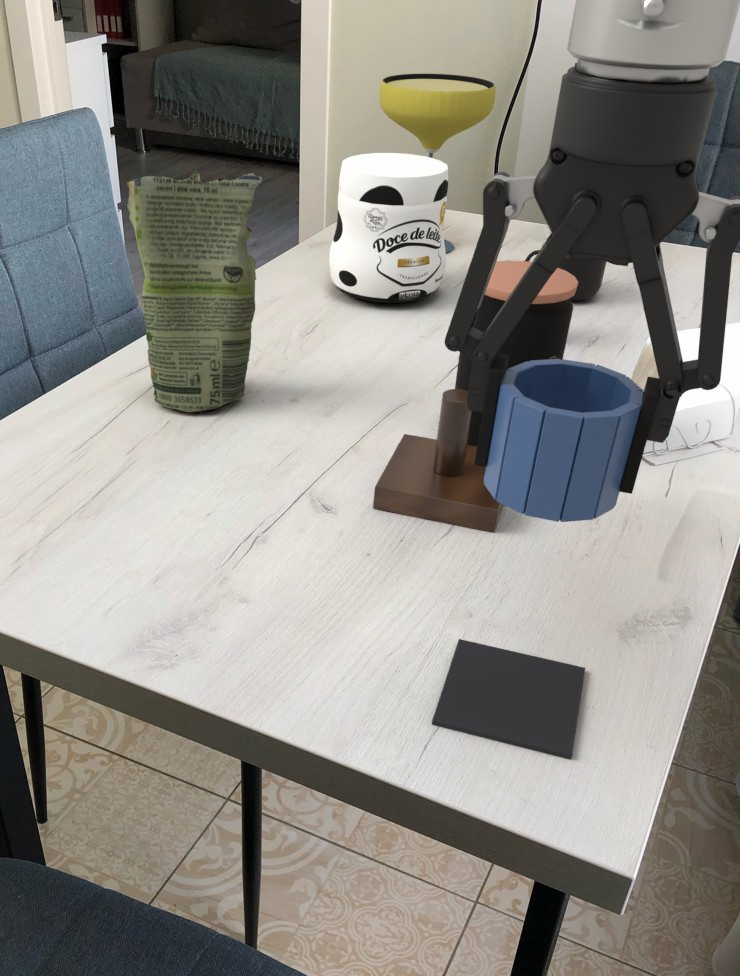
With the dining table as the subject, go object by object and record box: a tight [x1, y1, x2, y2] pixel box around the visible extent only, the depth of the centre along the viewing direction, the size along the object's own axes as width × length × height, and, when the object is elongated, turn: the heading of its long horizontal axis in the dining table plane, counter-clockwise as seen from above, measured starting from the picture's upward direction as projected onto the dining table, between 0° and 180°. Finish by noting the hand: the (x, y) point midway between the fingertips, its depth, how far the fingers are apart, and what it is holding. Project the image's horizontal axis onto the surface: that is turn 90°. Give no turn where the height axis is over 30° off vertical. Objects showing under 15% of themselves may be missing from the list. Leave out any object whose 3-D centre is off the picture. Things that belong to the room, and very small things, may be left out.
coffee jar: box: [454, 260, 578, 447], centre depth 99 cm, size 11×11×18 cm
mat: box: [431, 638, 586, 760], centre depth 71 cm, size 10×10×1 cm
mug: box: [524, 249, 607, 302], centre depth 141 cm, size 12×9×7 cm
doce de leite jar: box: [328, 152, 449, 304], centre depth 137 cm, size 17×17×18 cm
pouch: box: [126, 170, 263, 413], centre depth 105 cm, size 11×12×25 cm
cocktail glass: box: [378, 73, 496, 254], centre depth 154 cm, size 18×18×25 cm
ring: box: [484, 358, 644, 523], centre depth 59 cm, size 8×8×7 cm
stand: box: [372, 388, 504, 533], centre depth 92 cm, size 12×12×10 cm
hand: (553, 469), depth 60 cm, fingers closed on ring, 8 cm apart
